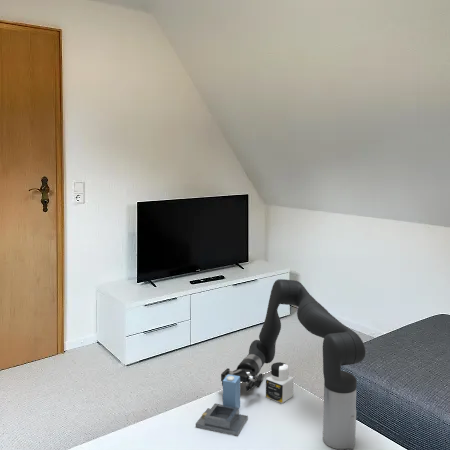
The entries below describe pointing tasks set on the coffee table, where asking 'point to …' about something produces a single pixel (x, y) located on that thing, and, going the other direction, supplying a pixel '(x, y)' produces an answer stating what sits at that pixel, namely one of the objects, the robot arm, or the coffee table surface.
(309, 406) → the coffee table surface
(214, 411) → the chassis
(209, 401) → the coffee table surface
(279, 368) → the medicine bottle
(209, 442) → the coffee table surface
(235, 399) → the blue tall box
